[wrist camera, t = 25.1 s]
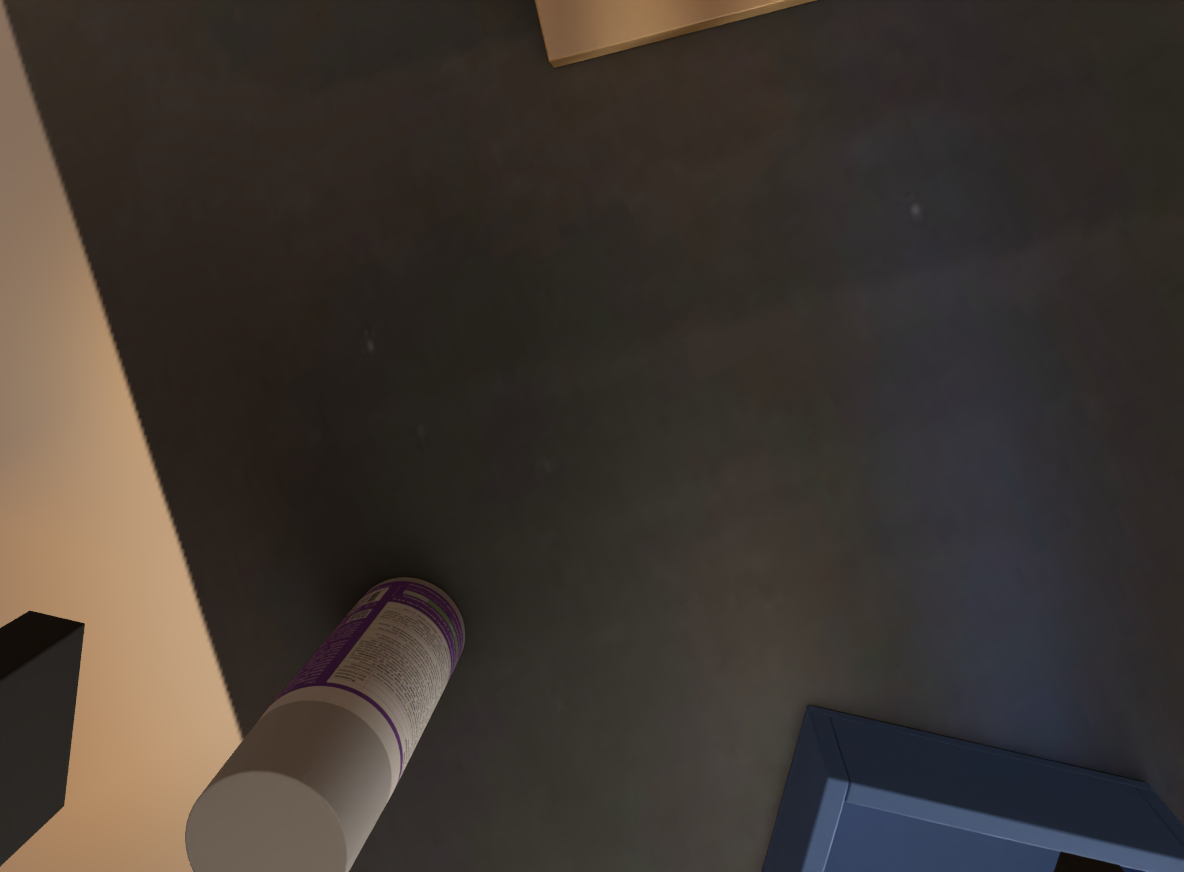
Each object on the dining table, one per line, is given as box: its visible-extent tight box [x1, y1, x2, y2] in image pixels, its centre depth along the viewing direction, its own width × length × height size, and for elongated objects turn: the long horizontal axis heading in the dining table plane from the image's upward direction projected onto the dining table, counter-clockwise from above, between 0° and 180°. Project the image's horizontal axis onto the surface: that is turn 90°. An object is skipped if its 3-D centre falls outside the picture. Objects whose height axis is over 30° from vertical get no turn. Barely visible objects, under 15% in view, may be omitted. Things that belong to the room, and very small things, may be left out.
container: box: [185, 577, 465, 872], centre depth 35 cm, size 5×5×15 cm
